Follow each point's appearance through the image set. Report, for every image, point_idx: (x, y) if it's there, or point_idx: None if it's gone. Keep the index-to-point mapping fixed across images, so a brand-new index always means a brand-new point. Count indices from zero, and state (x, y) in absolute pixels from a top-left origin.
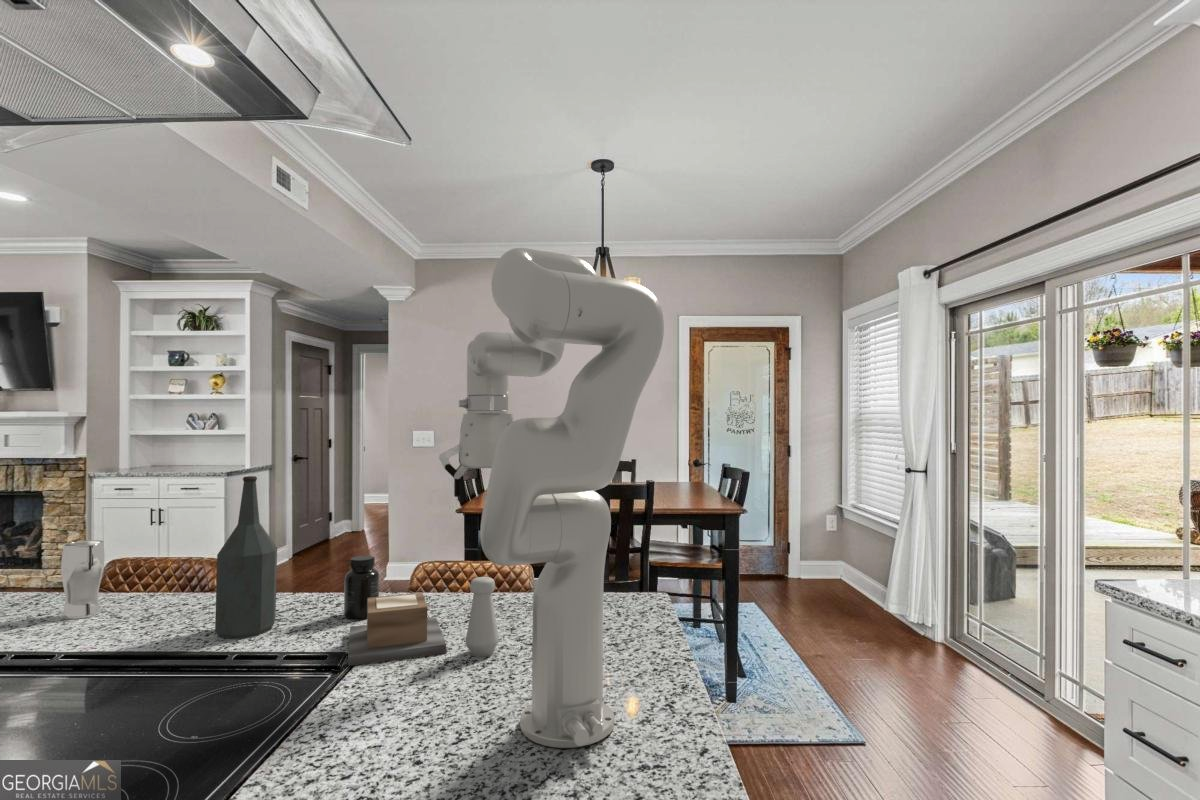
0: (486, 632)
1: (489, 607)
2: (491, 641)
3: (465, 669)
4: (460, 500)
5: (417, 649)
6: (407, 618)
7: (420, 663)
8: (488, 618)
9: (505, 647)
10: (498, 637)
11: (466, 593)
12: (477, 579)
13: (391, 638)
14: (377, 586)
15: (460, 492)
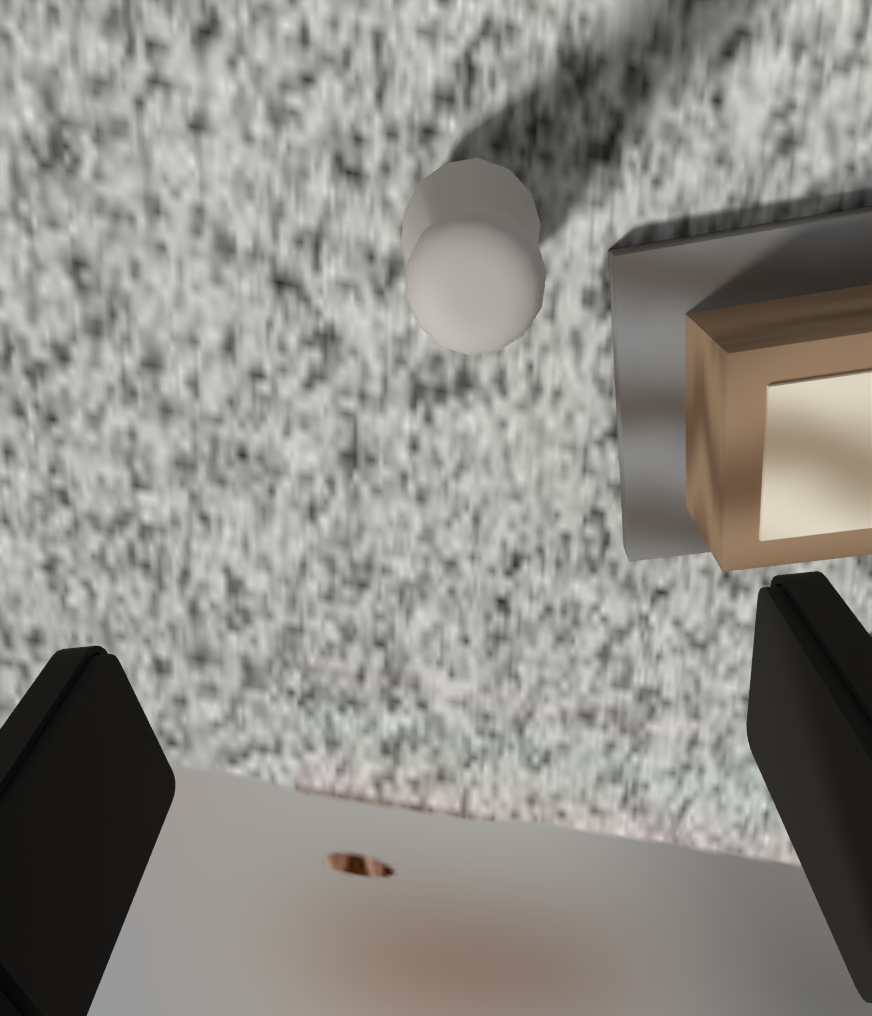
0: (455, 173)
1: (439, 217)
2: (434, 173)
3: (543, 43)
4: (811, 572)
5: (727, 235)
6: (803, 326)
7: (713, 155)
8: (445, 199)
9: (379, 266)
10: (403, 222)
11: (503, 811)
12: (508, 271)
13: (837, 296)
14: None
15: (865, 648)
